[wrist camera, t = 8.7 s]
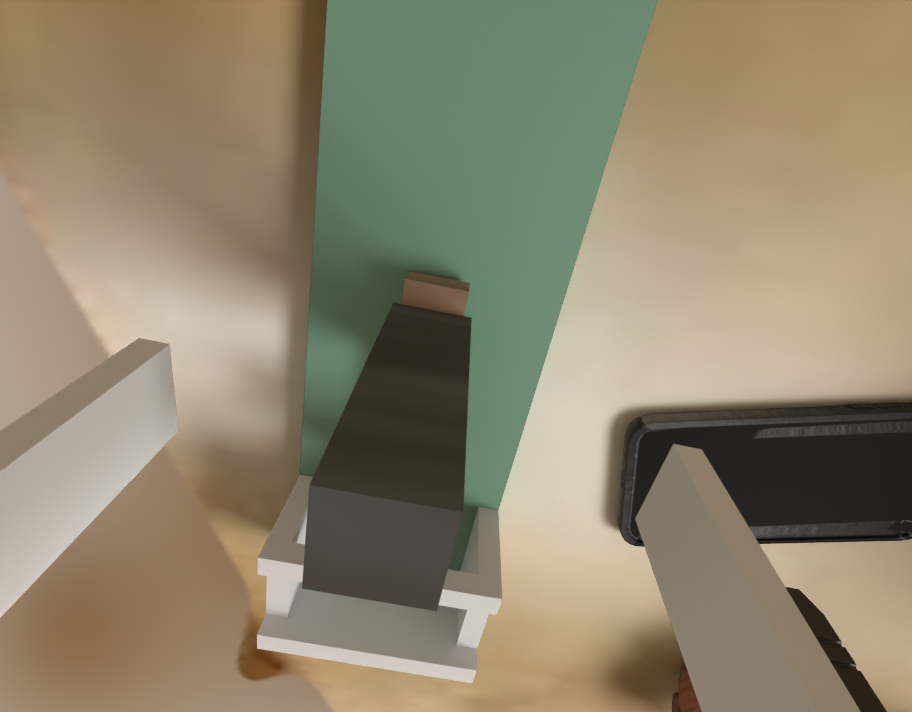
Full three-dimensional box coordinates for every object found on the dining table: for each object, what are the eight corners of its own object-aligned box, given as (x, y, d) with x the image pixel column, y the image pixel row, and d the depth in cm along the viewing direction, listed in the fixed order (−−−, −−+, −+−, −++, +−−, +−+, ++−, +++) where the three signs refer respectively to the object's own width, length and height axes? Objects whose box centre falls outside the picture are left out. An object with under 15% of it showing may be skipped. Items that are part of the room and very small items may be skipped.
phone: (924, 539, 24) (619, 547, 25) (907, 522, 25) (614, 531, 26) (988, 406, 21) (631, 422, 22) (964, 393, 22) (625, 408, 23)
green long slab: (350, -209, 14) (266, -414, 8) (687, -127, 14) (813, -271, 9) (300, 549, 28) (257, 654, 22) (471, 579, 28) (470, 689, 23)
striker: (375, 264, 19) (257, 433, 9) (502, 289, 19) (526, 482, 9) (352, 454, 23) (255, 712, 13) (456, 473, 23) (439, 742, 13)
